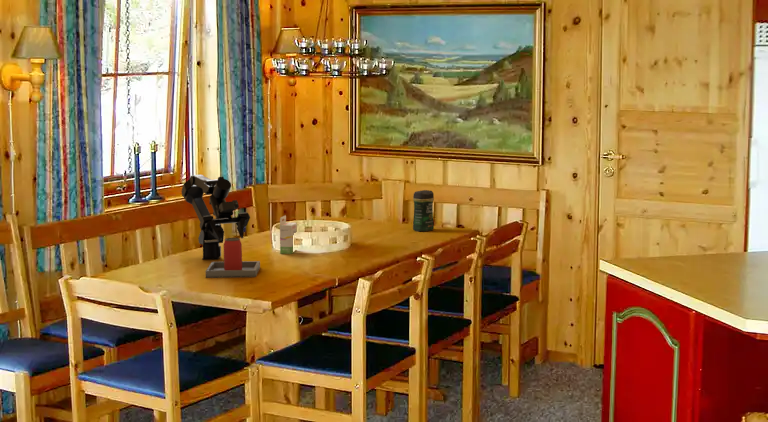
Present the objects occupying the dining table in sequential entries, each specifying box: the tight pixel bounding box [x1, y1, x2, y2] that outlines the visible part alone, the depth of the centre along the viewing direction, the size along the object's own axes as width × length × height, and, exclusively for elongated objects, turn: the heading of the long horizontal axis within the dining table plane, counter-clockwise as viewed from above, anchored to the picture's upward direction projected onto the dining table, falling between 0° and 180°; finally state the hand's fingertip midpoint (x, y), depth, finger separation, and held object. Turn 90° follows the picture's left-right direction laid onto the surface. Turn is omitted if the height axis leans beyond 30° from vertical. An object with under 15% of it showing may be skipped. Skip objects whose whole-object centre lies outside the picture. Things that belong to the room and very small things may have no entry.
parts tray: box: [205, 260, 261, 279], centre depth 385 cm, size 18×18×2 cm
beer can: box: [223, 237, 243, 270], centre depth 384 cm, size 7×7×12 cm
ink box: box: [279, 214, 298, 255], centre depth 426 cm, size 9×5×15 cm, turn 168°
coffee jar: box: [412, 189, 435, 232], centre depth 479 cm, size 10×8×19 cm
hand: (231, 238), depth 393 cm, fingers open, 9 cm apart
